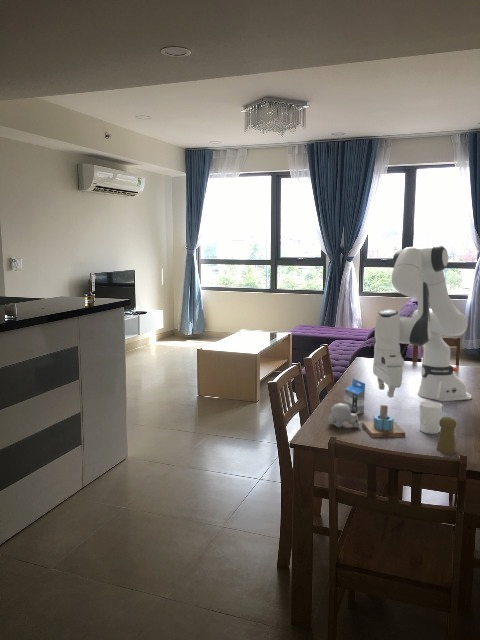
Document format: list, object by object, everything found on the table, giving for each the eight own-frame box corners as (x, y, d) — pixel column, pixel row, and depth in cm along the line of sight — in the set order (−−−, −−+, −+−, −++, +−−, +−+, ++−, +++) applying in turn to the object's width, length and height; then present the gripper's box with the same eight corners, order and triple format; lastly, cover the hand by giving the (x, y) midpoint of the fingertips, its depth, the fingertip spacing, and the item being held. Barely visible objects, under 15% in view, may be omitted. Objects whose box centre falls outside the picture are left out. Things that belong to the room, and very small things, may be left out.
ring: (371, 424, 198) (372, 414, 197) (389, 423, 198) (389, 414, 198) (377, 430, 191) (377, 420, 191) (395, 429, 192) (395, 420, 191)
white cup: (414, 427, 199) (416, 401, 198) (435, 426, 200) (436, 400, 198) (423, 434, 191) (425, 407, 190) (444, 434, 192) (446, 407, 191)
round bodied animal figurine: (354, 437, 196) (364, 418, 193) (324, 422, 198) (334, 403, 196) (357, 430, 202) (366, 411, 200) (327, 416, 205) (336, 397, 203)
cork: (439, 445, 181) (441, 414, 180) (457, 449, 178) (460, 417, 176) (434, 451, 177) (436, 419, 175) (453, 455, 173) (455, 422, 172)
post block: (393, 425, 201) (394, 400, 200) (405, 436, 190) (406, 410, 188) (362, 425, 201) (362, 401, 199) (371, 437, 189) (372, 411, 187)
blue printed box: (343, 408, 222) (344, 379, 220) (351, 407, 223) (352, 378, 222) (356, 414, 214) (357, 384, 212) (364, 413, 215) (365, 383, 213)
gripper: (369, 349, 201) (368, 385, 203) (387, 362, 181) (386, 401, 183) (385, 349, 201) (384, 384, 204) (406, 361, 181) (404, 401, 183)
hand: (385, 393), depth 193 cm, fingers open, 8 cm apart
